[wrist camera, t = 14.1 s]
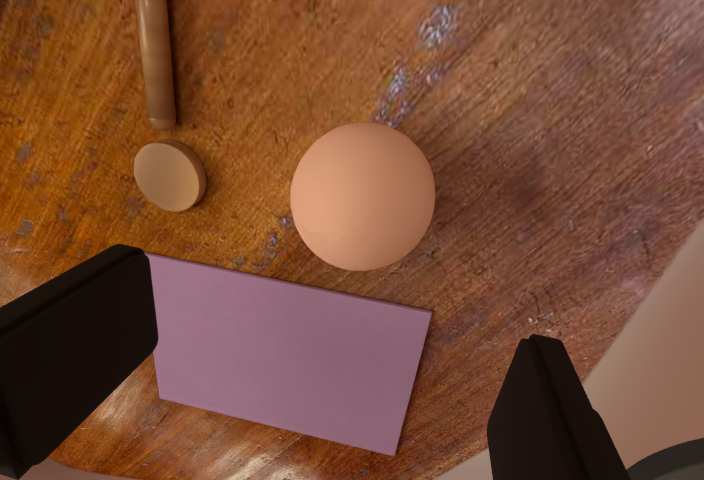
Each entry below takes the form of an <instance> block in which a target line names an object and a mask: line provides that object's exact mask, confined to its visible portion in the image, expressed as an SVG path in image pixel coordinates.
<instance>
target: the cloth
mask: <svg viewBox="0 0 704 480" xmlns="http://www.w3.org/2000/svg"><path fill="white" fill-rule="evenodd" d="M144 253H145V255H146V256H148V258H149V261H150V268H151V277H152V285H153V294H154V302H155V311H156V319H157V328H158V336H159V338H158V343H157V346H156V348H155V349H154V351H153V353H154V360H155V367H156V374H157V381H158V388H159V395H160V398H161V399H165V400H169V401H173V402H177V403H181V404H185V405H189V406H193V407H197V408H201V409H205V410H209V411H213V412H217V413H221V414H226V415H230V416H234V417H238V418H242V419H246V420H250V421H254V422H258V423H262V424H266V425H270V426H274V427H278V428H282V429H286V430H290V431H294V432H298V433H302V434H306V435H310V436H314V437H318V438H322V439H326V440H330V441H334V442H338V443H342V444H346V445H350V446H355V447H359V448H363V449H367V450H371V451H375V452H379V453H383V454H387V455H391V456H395V452H396V448H397V444H398V441H399V437H400V433H401V429H402V425H403V422H404V418H405V414H406V410H407V406H408V402H409V399H410V395H411V391H412V387H413V383H414V380H415V376H416V372H417V368H418V364H419V361H420V357H421V353H422V349H423V345H424V342H425V338H426V334H427V330H428V326H429V323H430V319H431V315H432V311H430V310H425V309H420V308H415V307H410V306H405V305H401V304H396V303H391V302H386V301H381V300H376V299H371V298H366V297H362V296H357V295H352V294H347V293H342V292H337V291H332V290H327V289H322V288H318V287H313V286H308V285H303V284H298V283H293V282H288V281H283V280H279V279H274V278H269V277H264V276H259V275H254V274H249V273H244V272H239V271H235V270H230V269H225V268H220V267H215V266H210V265H205V264H200V263H196V262H191V261H186V260H181V259H176V258H171V257H166V256H161V255H156V254H152V253H147V252H144Z"/></svg>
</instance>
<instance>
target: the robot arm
mask: <svg viewBox="0 0 704 480" xmlns="http://www.w3.org/2000/svg"><path fill="white" fill-rule="evenodd" d="M158 338H159V336H158V328H157V319H156V311H155V302H154V294H153V285H152V277H151V268H150V261H149V258H148V256H146V255H145V253H144V251H143V250H142V249H140V248H137V247H132V246H127V245H123V244H116V245H113V246H112V247H110V248H108V249H106V250H104V251H102V252H101V253H99V254H97V255H95V256H93V257H92V258H90V259H88V260H86V261H84V262H82V263H81V264H79V265H77V266H75V267H73V268H72V269H70V270H68V271H66V272H64V273H62V274H61V275H59V276H57V277H55V278H53V279H52V280H50V281H48V282H46V283H44V284H42V285H41V286H39V287H37V288H35V289H33V290H32V291H30V292H28V293H26V294H24V295H22V296H21V297H19V298H17V299H15V300H13V301H12V302H10V303H8V304H6V305H4V306H2V307H1V308H0V474H1V475H4V476H8V477H11V478H14V479H17V480H19V479H20V478H21V476H23V475H24V474H25V473H26V472H27V471H28V470H29V469H30V468H31V467H32V466H33V465H37V464H39V463H41V462H42V461H44V460H45V459H46V458H47V457H48V456H49V455H50V454H51V453H52V452H53V451H54V450H55V449H56V448H57V447H58V446H59V445H60V444H61V443H62V442H63V441H64V440H65V439H66V438H67V437H68V436H69V435H70V434H71V433H72V432H73V431H74V430H75V429H76V428H77V427H78V426H79V425H80V424H81V423H82V422H83V421H84V420H85V419H86V418H87V417H88V416H89V415H90V414H91V413H92V412H93V411H94V410H95V409H96V408H97V407H98V406H99V405H100V404H101V403H102V402H103V401H104V400H105V399H106V398H107V397H108V396H109V395H110V394H111V393H112V392H113V391H114V390H115V389H116V388H117V387H118V386H119V385H120V384H121V383H122V382H123V381H124V380H125V379H126V378H127V377H128V376H129V375H130V374H131V373H132V372H133V371H134V370H135V369H136V368H137V367H138V366H139V365H140V364H141V363H142V362H143V361H144V360H145V359H146V358H147V357H148V356H149V355H150V354H151V353H152V352H153V351H154V349H155V348H156V346H157V343H158ZM487 439H488V446H489V453H490V460H491V467H492V474H493V480H631V479H630V477H629V475H628V473H627V471H626V469H625V467H624V465H623V462H622V460H621V458H620V456H619V454H618V452H617V450H616V448H615V446H614V443H613V441H612V439H611V437H610V435H609V433H608V431H607V429H606V426H605V424H604V422H603V420H602V418H601V417H600V415H599V414H598V413H597V412H596V411H595V410H594V409H593V408H592V406H591V404H590V402H589V399H588V397H587V395H586V393H585V391H584V389H583V386H582V384H581V382H580V380H579V378H578V375H577V373H576V371H575V369H574V367H573V364H572V362H571V360H570V358H569V356H568V354H567V351H566V349H565V347H564V345H563V343H562V341H561V340H559V339H554V338H550V337H545V336H541V335H536V334H532V335H531V336H530V337H529V339H524V338H523V339H521V340H520V342H519V344H518V347H517V349H516V352H515V355H514V357H513V360H512V362H511V365H510V367H509V370H508V372H507V375H506V377H505V380H504V382H503V385H502V387H501V390H500V392H499V395H498V398H497V400H496V403H495V405H494V408H493V410H492V413H491V415H490V418H489V421H488V426H487Z"/></svg>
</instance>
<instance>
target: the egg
mask: <svg viewBox="0 0 704 480" xmlns="http://www.w3.org/2000/svg"><path fill="white" fill-rule="evenodd" d="M435 196H436V195H435V185H434V177H433V174H432V171H431V168H430V165H429V162H428V161H427V159H426V158H425V156H424V154H423V153H422V151H421V150H420V149H419V148H418V147H417V146H416V145H415V144H414V143H413V142H412V141H411V140H410V139H409V138H408V137H407V136H406V135H404V134H402V133H400V132H399V131H397V130H395V129H393V128H392V127H388V126H385V125H381V124H377V123H351V124H346V125H343V126H340V127H338V128H335V129H333V130H331V131H330V132H328V133H327V134H325V135H324V136H322V137H320V138H319V139H318V140H317V141H316V142H315V143H314V144H313V145H312V146H311V147H310V148H309V149H308V151H307V152H306V153H305V155H304V156H303V157H302V159H301V160H300V162H299V164H298V167H297V169H296V171H295V174H294V177H293V181H292V184H291V193H290V204H291V210H292V215H293V219H294V223H295V226H296V228H297V230H298V232H299V234H300V235H301V237H302V239H303V241H304V242H305V244H306V245H307V246H308V247H309V248H310V249H311V250H312V251H313V252H314V254H316V255H317V256H318V257H320V258H321V259H323V260H324V261H326V262H327V263H329V264H331V265H334V266H336V267H339V268H343V269H346V270H355V271H367V270H373V269H378V268H381V267H384V266H387V265H390V264H393V263H395V262H396V261H398V260H400V259H401V258H403V257H404V256H405V255H407V254H408V253H409V252H410V251H411V250H413V249H414V248H415V247H416V246H417V244H418V243H419V241H420V240H421V239H422V237H423V236H424V234H425V232H426V230H427V228H428V226H429V224H430V222H431V218H432V215H433V212H434V206H435Z"/></svg>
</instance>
